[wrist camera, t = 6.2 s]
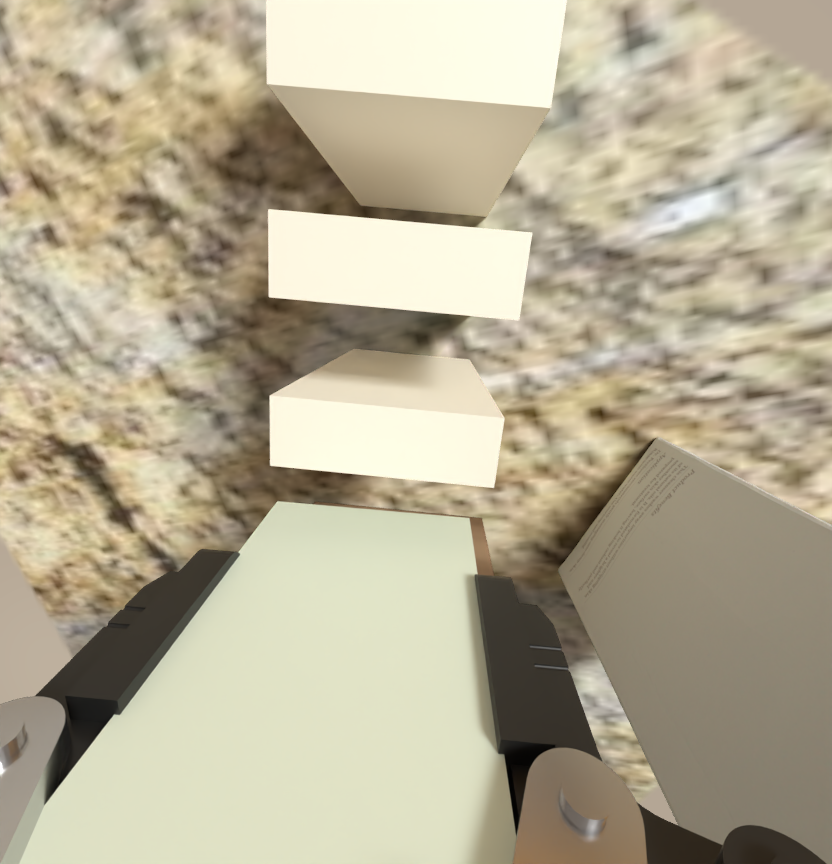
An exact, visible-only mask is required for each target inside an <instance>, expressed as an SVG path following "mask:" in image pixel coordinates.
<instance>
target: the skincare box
mask: <svg viewBox="0 0 832 864" xmlns="http://www.w3.org/2000/svg"><path fill="white" fill-rule="evenodd" d="M558 573H559V575H560V577H561V579H562V581H563V584H564V586H565V588H566V590H567V592H568V594H569V596H570V598H571V600H572V602H573V604H574V606H575V608H576V610H577V613H578V615H579V617H580V619H581V621H582V623H583V625H584V627H585V629H586V632H587V634H588V636H589V638H590V640H591V642H592V644H593V646H594V648H595V650H596V652H597V654H598V657H599V659H600V661H601V663H602V665H603V667H604V669H605V672H606V674H607V676H608V678H609V680H610V682H611V684H612V686H613V688H614V690H615V693H616V695H617V697H618V699H619V701H620V704H621V706H622V708H623V710H624V712H625V714H626V716H627V718H628V720H629V722H630V724H631V726H632V728H633V731H634V733H635V735H636V737H637V739H638V741H639V744H640V746H641V748H642V750H643V752H644V754H645V757H646V759H647V761H648V763H649V765H650V767H651V769H652V771H653V773H654V775H655V777H656V779H657V781H658V784H659V786H660V788H661V790H662V792H663V794H664V796H665V798H666V800H667V803H668V805H669V806H670V809H671V811H672V813H673V815H674V817H675V819H676V822H677V824H678V826H680V827H682V828H684V829H687V830H689V831H691V832H694V833H696V834H698V835H701V836H703V837H705V838H707V839H710V840H712V841H714V842H717V843H719V844H721V845H723V843H724V841H725V839H726V837H727V836H728V834H729V833H730V832H731V831H732V830H733V829H735V828H737V827H740V826H744V825H756V826H762V827H766V828H769V829H773V830H775V831H777V832H780V833H782V834H784V835H786V836H788V837H790V838H792V839H793V840H795V841H797V842H799V843H800V844H802V845H803V846H805V847H806V848H808V849H809V850H810V851H812V852H813V853H814V854H816V855H817V856H818V857H819V858H821V859H822V860H823V861H824V862H825V863H826V864H832V525H830V524H828V523H826V522H825V521H823V520H821V519H819V518H817V517H815V516H813V515H811V514H809V513H807V512H805V511H803V510H801V509H799V508H797V507H795V506H793V505H791V504H789V503H787V502H785V501H783V500H781V499H779V498H777V497H776V496H774V495H772V494H770V493H768V492H766V491H764V490H762V489H760V488H758V487H756V486H754V485H752V484H750V483H748V482H746V481H745V480H743V479H741V478H739V477H737V476H735V475H733V474H731V473H729V472H727V471H725V470H723V469H721V468H719V467H717V466H715V465H713V464H711V463H709V462H707V461H705V460H703V459H701V458H700V457H698V456H696V455H694V454H692V453H690V452H688V451H686V450H684V449H682V448H680V447H678V446H676V445H674V444H672V443H670V442H668V441H666V440H664V439H662V438H659V437H658V438H656V439H655V440H654V442H653V443H652V444H651V446H650V447H649V448H648V450H647V451H646V452H645V454H644V455H643V456H642V458H641V459H640V460H639V462H638V463H637V464H636V466H635V467H634V468H633V470H632V471H631V472H630V474H629V475H628V476H627V478H626V479H625V480H624V482H623V483H622V484H621V486H620V487H619V488H618V490H617V491H616V492H615V494H614V495H613V496H612V498H611V499H610V500H609V502H608V503H607V505H606V506H605V507H604V509H603V510H602V511H601V512H600V514H599V515H598V516H597V518H596V519H595V520H594V522H593V523H592V524H591V526H590V527H589V528H588V530H587V531H586V533H585V534H584V535H583V537H582V538H581V540H580V541H579V543H578V544H577V546H576V547H575V549H574V550H573V551H572V552H571V554H570V555H569V556H568V557H567V559H566V560H565V561H564V562H563V564H562V565H561V566H560V567H559V569H558Z"/></svg>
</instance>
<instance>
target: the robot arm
mask: <svg viewBox="0 0 832 864" xmlns="http://www.w3.org/2000/svg"><path fill="white" fill-rule="evenodd" d="M239 556H240V553H238V552H230V551H219V550H208V549H201V550H199V551H198V552H197V553H196V554H195V555H194V556H193V557H192V558H191V559H190V561H189V562H188V563H187V564H186V565H185V566H184V567H183V568H182V569H181V570H180V571H179V572H172V571H170V572H168V573H167V574H165V575H163V576H161V577H160V578H158V579H156V580H155V581H153V582H151V583H149V584H148V585H146V586H144V587H143V588H142V589H141V590H140V591H139V592H138V593H137V594H136V595H135V596H134V597H133V598H132V599H131V600H130V601H129V602H128V603H127V604H126V605H125V608H124V610H120V611H119V612H118V613H117V614H116V615H115V616H114V617H113V618H112V619H111V620H110V621H109V622H108V626H107V627H103V628H102V629H101V630H100V631H99V632H98V633H97V634H96V635H95V636H94V637H93V638H92V639H91V640H90V641H89V642H88V643H87V644H86V645H85V646H84V647H83V648H82V649H81V650H80V651H79V652H78V653H77V654H76V655H75V656H74V657H73V658H72V659H71V660H70V662H69V663H68V664H67V665H66V666H65V667H64V668H63V669H62V670H61V671H60V672H59V673H58V674H57V675H56V676H55V677H54V678H53V679H52V680H51V681H50V682H49V683H48V684H47V685H46V686H45V687H44V688H43V689H42V690H41V691H40V692H39V693H38V694H37V695H36V696H34V697H25V698H20V699H16V700H12V701H9V702H6V703H3V704H0V864H19V863H20V861H21V858H22V856H23V854H24V851H25V849H26V847H27V844H28V842H29V840H30V837H31V835H32V833H33V830H34V828H35V826H36V823H37V821H38V819H39V817H40V814H41V812H42V810H43V807H44V805H45V804H46V803H47V801H48V800H49V799H50V798H51V796H52V795H53V794H54V792H55V791H56V790H57V788H58V787H59V786H60V784H61V783H62V782H63V781H64V779H65V778H66V777H67V775H68V774H69V773H70V771H71V770H72V769H73V767H74V766H75V765H76V764H77V762H78V761H79V760H80V758H81V757H82V756H83V754H84V753H85V752H86V751H87V749H88V748H89V747H90V745H91V744H92V743H93V741H94V740H95V739H96V737H97V736H98V735H99V734H100V732H101V731H102V730H103V728H104V727H105V726H106V724H107V723H108V722H109V720H110V719H111V718H112V717H113V715H120V714H121V713H122V712H123V710H124V709H125V708H126V706H127V705H128V704H129V702H130V701H131V700H132V698H133V697H134V696H135V694H136V693H137V692H138V690H139V689H140V688H141V686H142V685H143V684H144V682H145V681H146V680H147V678H148V677H149V676H150V674H151V673H152V672H153V670H154V669H155V668H156V666H157V665H158V664H159V662H160V661H161V660H162V658H163V657H164V656H165V654H166V653H167V652H168V650H169V649H170V648H171V646H172V645H173V644H174V642H175V641H176V640H177V638H178V637H179V636H180V634H181V633H182V632H183V630H184V629H185V628H186V626H187V625H188V624H189V622H190V621H191V620H192V618H193V617H194V616H195V614H196V613H197V612H198V610H199V609H200V608H201V606H202V605H203V604H204V602H205V601H206V600H207V598H208V597H209V596H210V594H211V593H212V592H213V590H214V589H215V588H216V586H217V585H218V584H219V582H220V581H221V580H222V578H223V577H224V576H225V574H226V573H227V572H228V570H229V569H230V568H231V566H232V565H233V564H234V562H235V561H236V560H237V558H238V557H239ZM474 577H475V585H476V592H477V600H478V607H479V615H480V622H481V630H482V637H483V645H484V652H485V660H486V667H487V675H488V682H489V690H490V697H491V705H492V712H493V720H494V727H495V735H496V742H497V750H498V754H504V757H505V764H506V770H507V777H508V784H509V791H510V798H511V804H512V811H513V818H514V825H515V832H516V841H515V847H514V853H513V859H512V864H826V863H825V862H824V861H823V860H822V859H821V858H819V857H818V856H817V855H816V854H814V853H813V852H812V851H810V850H809V849H808V848H806V847H805V846H803V845H802V844H800V843H799V842H797V841H795V840H793V839H792V838H790V837H788V836H786V835H784V834H782V833H780V832H777V831H775V830H773V829H769V828H766V827H762V826H756V825H744V826H740V827H737V828H735V829H733V830H732V831H731V832H730V833H729V834H728V836H727V837H726V839H725V841H724V843H723V845H721V844H719V843H717V842H714V841H712V840H710V839H707V838H705V837H703V836H701V835H698V834H696V833H694V832H691V831H689V830H687V829H684V828H682V827H680V826H678V825H675V824H673V823H671V822H668V821H666V820H664V819H662V818H660V817H658V816H656V815H654V814H653V813H651V812H650V811H648V810H647V809H645V808H643V807H642V806H641V805H640V804H638V803H637V802H636V800H635V798H634V796H633V795H632V793H631V791H630V790H629V788H628V787H627V786H626V784H625V783H624V782H623V780H622V779H621V778H620V777H619V776H618V775H617V774H616V773H615V772H614V771H613V770H612V769H611V768H610V767H608V766H607V765H606V764H605V763H603V762H602V759H601V757H600V755H599V752H598V750H597V747H596V744H595V741H594V738H593V736H592V733H591V730H590V727H589V724H588V721H587V719H586V716H585V713H584V710H583V707H582V704H581V702H580V699H579V696H578V693H577V690H576V687H575V684H574V682H573V679H572V676H571V673H570V672H569V671H568V665H567V662H566V659H565V656H564V653H563V652H562V651H561V645H560V642H559V639H558V636H557V633H556V631H555V628H554V625H553V624H552V623H551V621H550V620H549V619H548V618H547V617H546V616H545V615H544V613H543V612H542V611H541V610H540V609H539V608H538V606H537V605H527V604H518V600H517V596H516V593H515V589H514V585H513V581H512V579H511V578H510V577H502V576H490V575H479V574H475V576H474Z"/></svg>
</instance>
